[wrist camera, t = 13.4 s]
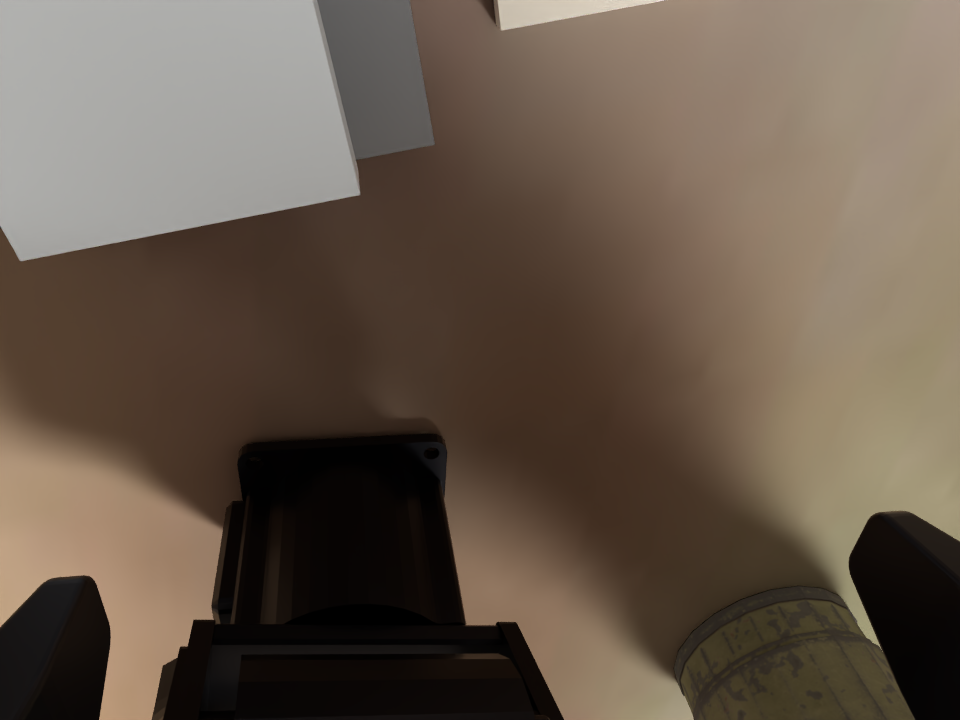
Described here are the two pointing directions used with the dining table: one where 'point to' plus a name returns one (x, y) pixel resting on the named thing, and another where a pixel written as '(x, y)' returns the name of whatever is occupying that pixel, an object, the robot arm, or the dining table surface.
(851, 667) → the thermos
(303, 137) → the grey-blue key
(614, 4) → the card
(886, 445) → the dining table surface
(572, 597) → the dining table surface
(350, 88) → the keypad board
